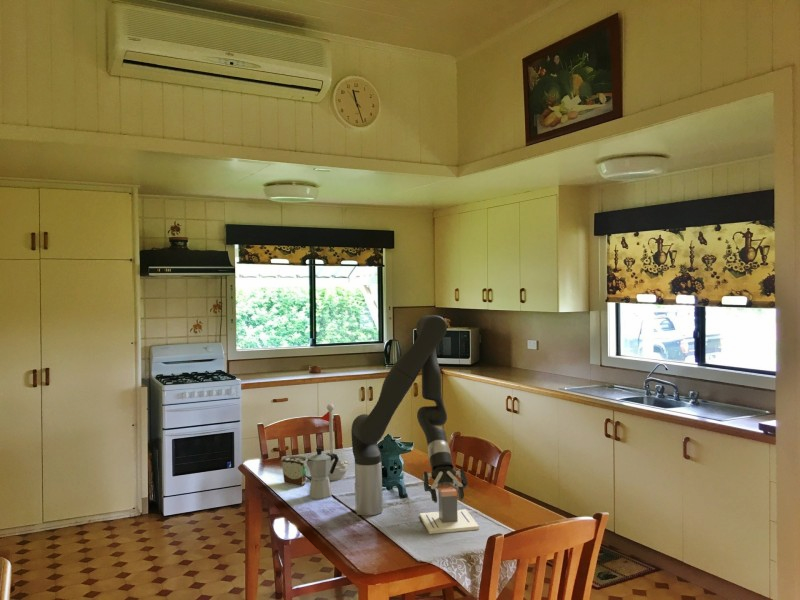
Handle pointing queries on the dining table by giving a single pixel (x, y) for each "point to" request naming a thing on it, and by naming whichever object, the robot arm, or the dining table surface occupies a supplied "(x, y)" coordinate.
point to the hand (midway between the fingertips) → (448, 500)
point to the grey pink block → (447, 504)
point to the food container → (294, 470)
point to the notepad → (437, 526)
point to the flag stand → (340, 467)
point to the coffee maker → (321, 474)
